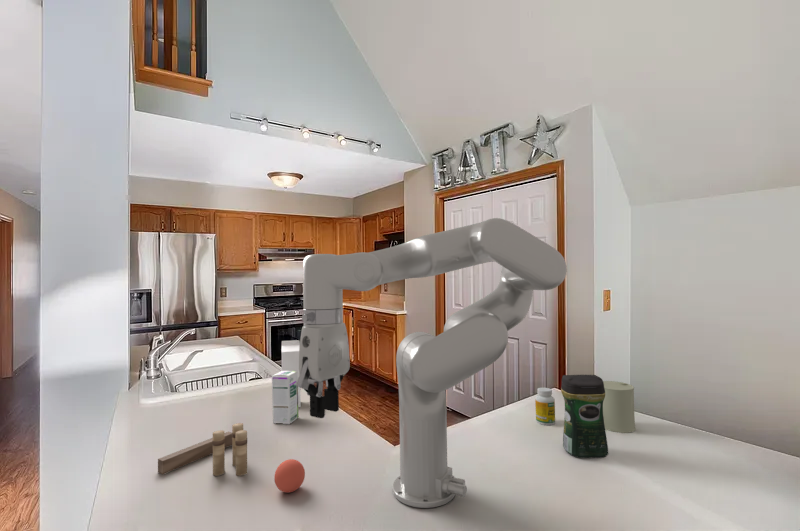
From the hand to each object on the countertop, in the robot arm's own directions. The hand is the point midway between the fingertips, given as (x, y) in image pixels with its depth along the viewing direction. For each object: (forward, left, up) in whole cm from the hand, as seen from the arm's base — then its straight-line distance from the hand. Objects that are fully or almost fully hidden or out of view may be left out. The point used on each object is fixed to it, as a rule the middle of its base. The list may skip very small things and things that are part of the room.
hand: (324, 412), depth 76 cm
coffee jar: (-40, -47, -17) cm, 64 cm away
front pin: (+25, 0, -17) cm, 30 cm away
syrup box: (+41, -28, -17) cm, 52 cm away
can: (-46, -69, -17) cm, 85 cm away
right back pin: (+29, -2, -17) cm, 34 cm away
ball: (+10, 0, -14) cm, 17 cm away
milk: (+50, -39, -17) cm, 65 cm away
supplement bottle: (-28, -63, -17) cm, 71 cm away
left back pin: (+29, +3, -17) cm, 34 cm away
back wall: (+41, 0, -17) cm, 44 cm away
